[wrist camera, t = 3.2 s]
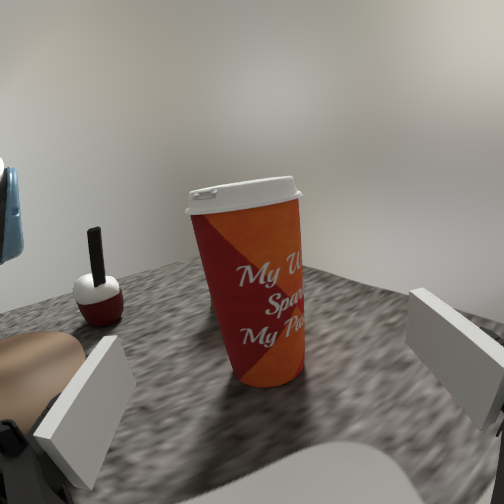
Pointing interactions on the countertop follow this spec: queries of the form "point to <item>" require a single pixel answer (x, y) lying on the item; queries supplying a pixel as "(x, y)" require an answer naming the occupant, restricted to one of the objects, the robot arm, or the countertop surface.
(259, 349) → the paper cup
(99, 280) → the cocoa
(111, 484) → the countertop surface
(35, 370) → the pedestal stand
